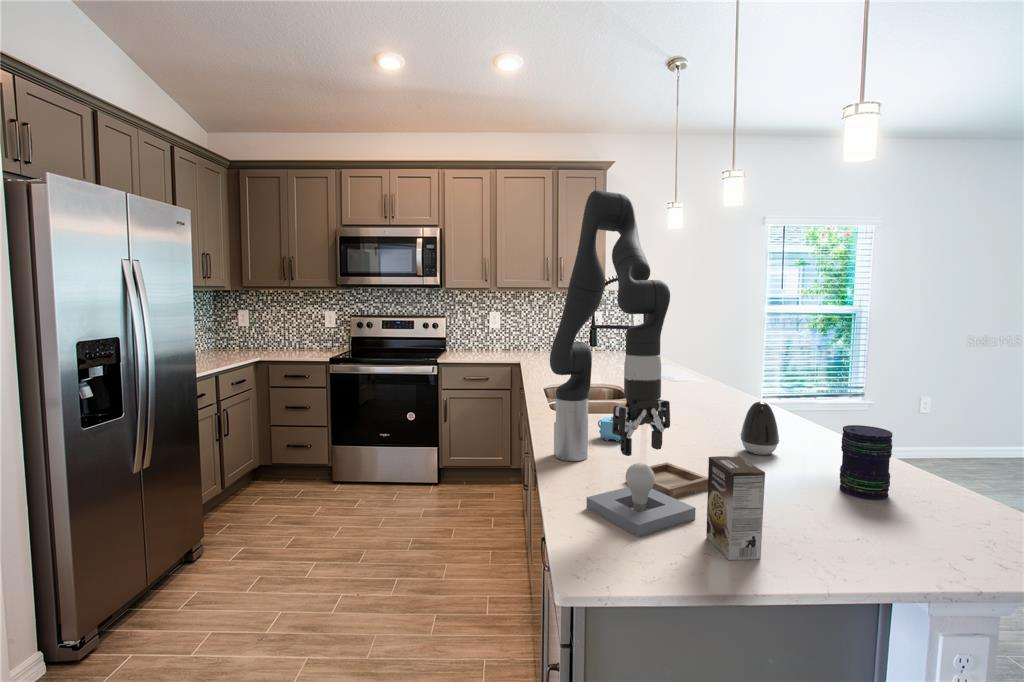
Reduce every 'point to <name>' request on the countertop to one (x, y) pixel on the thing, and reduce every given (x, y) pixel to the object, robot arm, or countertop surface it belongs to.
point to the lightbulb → (640, 484)
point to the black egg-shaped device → (760, 430)
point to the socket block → (640, 523)
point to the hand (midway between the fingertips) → (641, 451)
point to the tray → (677, 480)
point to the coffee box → (735, 507)
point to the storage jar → (865, 462)
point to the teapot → (608, 429)
